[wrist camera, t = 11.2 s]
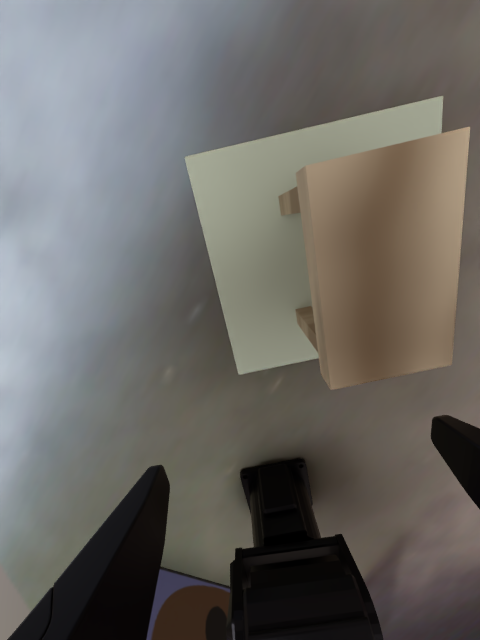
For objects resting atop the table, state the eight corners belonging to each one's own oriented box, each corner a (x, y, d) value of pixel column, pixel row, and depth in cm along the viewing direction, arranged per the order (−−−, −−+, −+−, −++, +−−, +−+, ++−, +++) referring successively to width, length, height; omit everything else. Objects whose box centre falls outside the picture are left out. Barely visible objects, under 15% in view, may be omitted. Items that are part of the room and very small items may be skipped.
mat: (427, 332, 22) (431, 334, 21) (238, 372, 22) (238, 374, 22) (438, 98, 16) (443, 95, 16) (185, 158, 17) (184, 156, 16)
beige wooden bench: (362, 169, 17) (470, 126, 9) (369, 312, 20) (451, 365, 13) (271, 191, 17) (305, 165, 10) (293, 329, 21) (330, 390, 13)
